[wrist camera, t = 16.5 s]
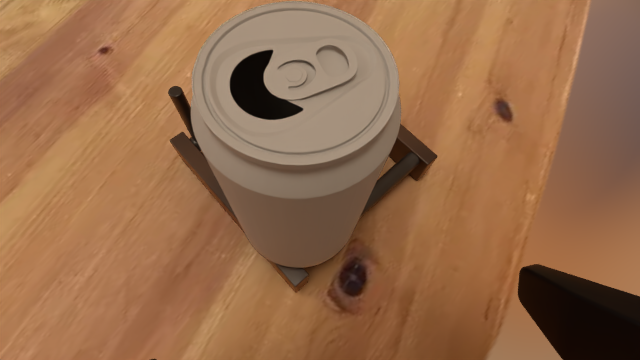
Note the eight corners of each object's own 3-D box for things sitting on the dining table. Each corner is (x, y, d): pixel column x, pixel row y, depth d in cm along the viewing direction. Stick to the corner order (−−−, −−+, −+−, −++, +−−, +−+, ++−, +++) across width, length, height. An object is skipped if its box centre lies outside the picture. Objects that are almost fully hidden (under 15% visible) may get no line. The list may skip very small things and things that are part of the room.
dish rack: (425, 172, 25) (468, 114, 18) (296, 293, 21) (292, 272, 15) (311, 70, 28) (313, -9, 22) (181, 158, 24) (138, 94, 18)
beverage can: (228, 187, 21) (148, 22, 10) (326, 150, 22) (350, -32, 11) (267, 290, 19) (217, 219, 8) (374, 242, 20) (460, 123, 9)
